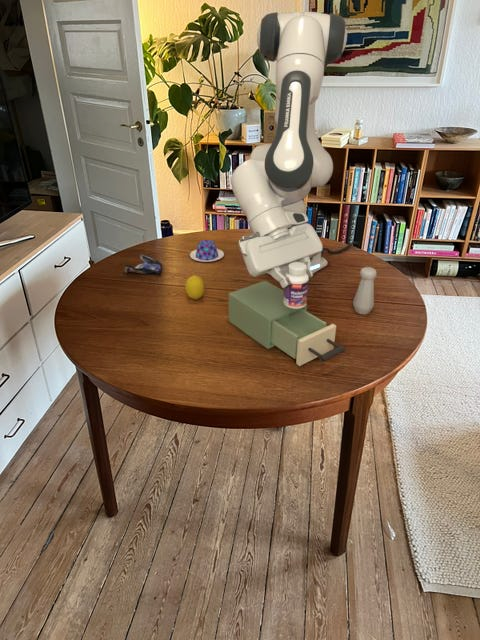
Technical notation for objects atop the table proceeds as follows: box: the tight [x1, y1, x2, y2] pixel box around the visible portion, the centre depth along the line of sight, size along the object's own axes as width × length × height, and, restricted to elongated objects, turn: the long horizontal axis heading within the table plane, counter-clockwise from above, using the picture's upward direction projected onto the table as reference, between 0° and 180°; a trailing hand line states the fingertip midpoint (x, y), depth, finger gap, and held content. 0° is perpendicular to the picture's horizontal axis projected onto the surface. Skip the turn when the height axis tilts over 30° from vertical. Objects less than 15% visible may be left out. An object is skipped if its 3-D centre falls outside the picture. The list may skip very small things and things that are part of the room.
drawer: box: [270, 309, 347, 367], centre depth 112 cm, size 21×11×7 cm, turn 37°
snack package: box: [123, 254, 163, 275], centre depth 152 cm, size 12×6×12 cm
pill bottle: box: [283, 262, 310, 309], centre depth 105 cm, size 5×5×10 cm
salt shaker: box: [352, 266, 378, 315], centre depth 128 cm, size 6×6×13 cm
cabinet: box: [227, 280, 308, 350], centre depth 122 cm, size 17×13×9 cm
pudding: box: [189, 239, 225, 263], centre depth 162 cm, size 12×12×5 cm
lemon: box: [184, 274, 205, 301], centre depth 135 cm, size 6×6×8 cm
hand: (298, 282), depth 104 cm, fingers closed on pill bottle, 5 cm apart
